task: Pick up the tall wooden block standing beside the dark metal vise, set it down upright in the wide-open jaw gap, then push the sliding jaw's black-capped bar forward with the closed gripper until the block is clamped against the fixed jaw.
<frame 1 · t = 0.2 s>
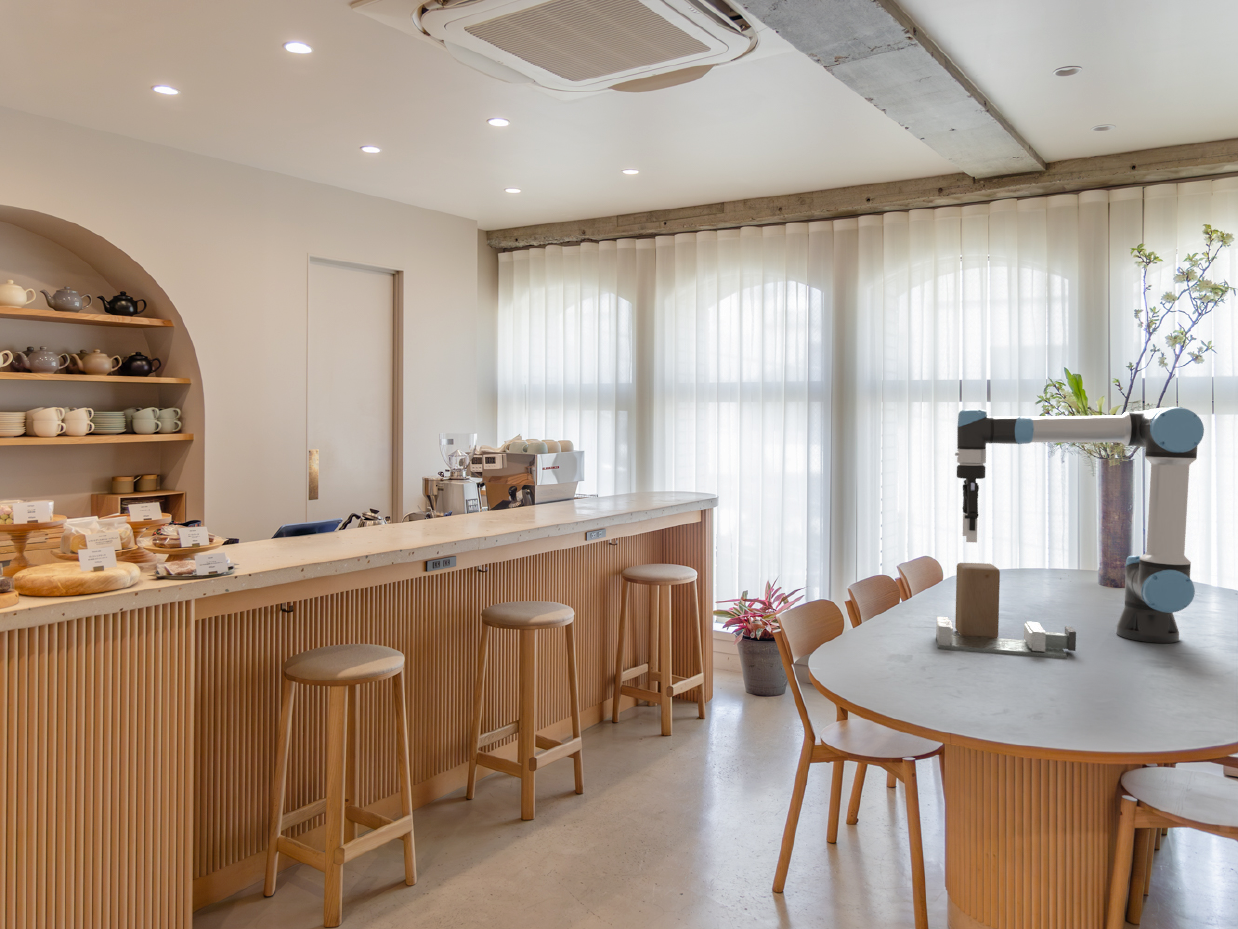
hand: (969, 539, 247), 27 cm above the table, fingers open, 13 cm apart
vise: (988, 646, 235), on the table
jaw: (1050, 637, 230), point 4 cm above the table, slide at 0.0 cm
wooden block: (976, 635, 248), on the table
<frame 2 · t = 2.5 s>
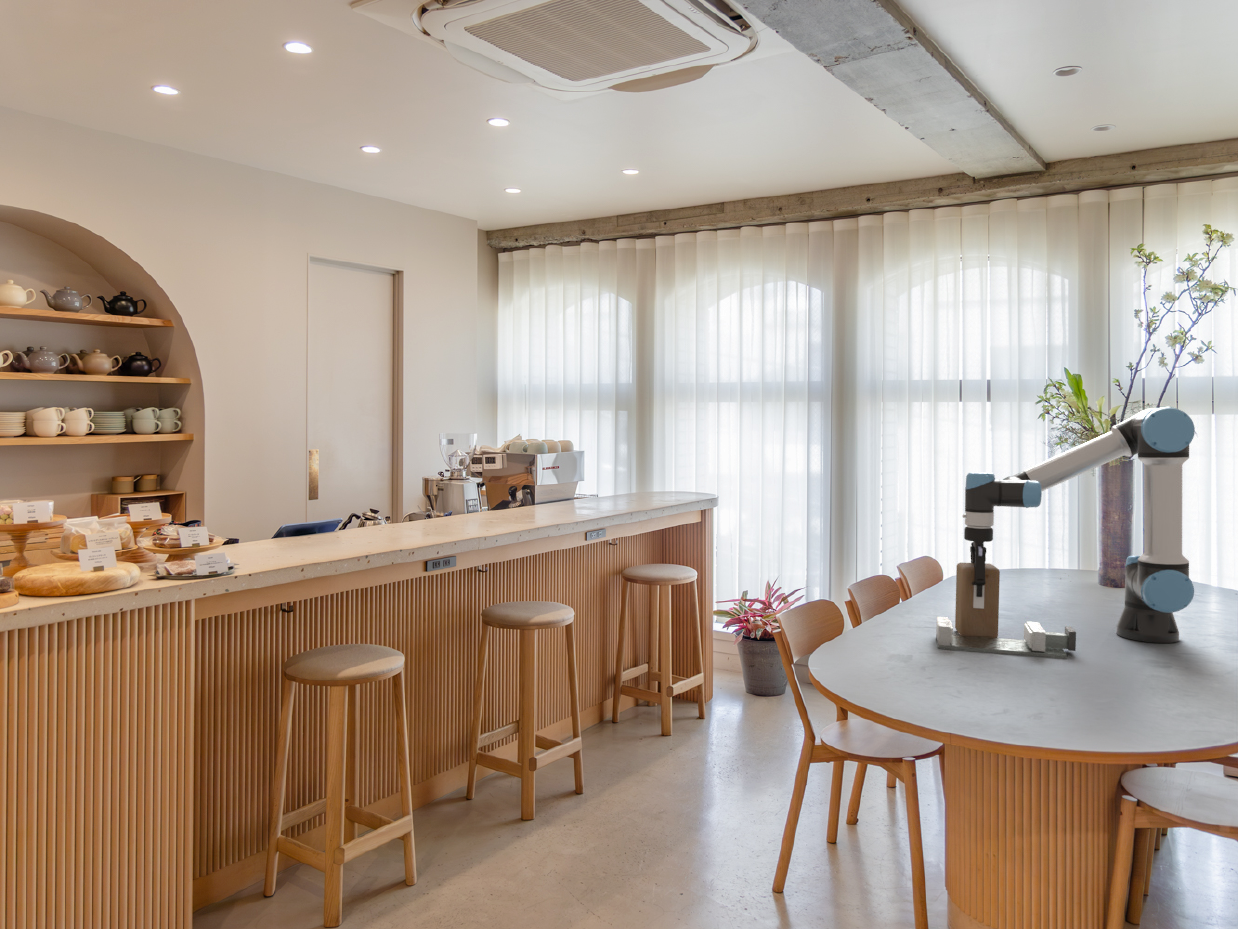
hand: (976, 604, 247), 9 cm above the table, fingers closed on wooden block, 10 cm apart
wooden block: (976, 635, 248), on the table, touching gripper
everything else where it was.
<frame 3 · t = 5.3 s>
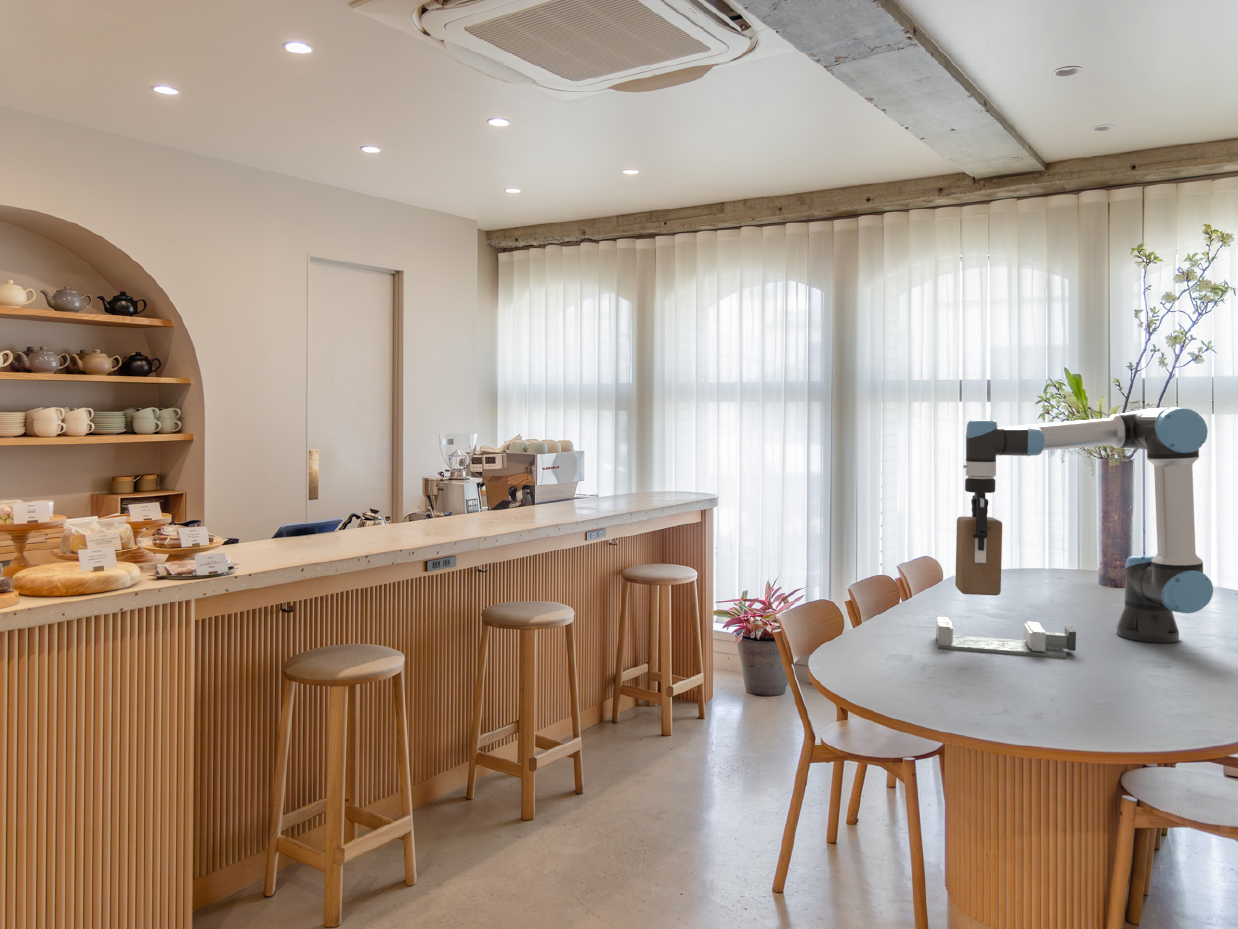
hand: (978, 559, 234), 24 cm above the table, fingers closed on wooden block, 10 cm apart
wooden block: (977, 592, 235), point 15 cm above the table, touching gripper
everything else where it was.
when the fingers open (11 cm above the table, at t = 8.1 s): wooden block drops 1 cm, resting on vise.
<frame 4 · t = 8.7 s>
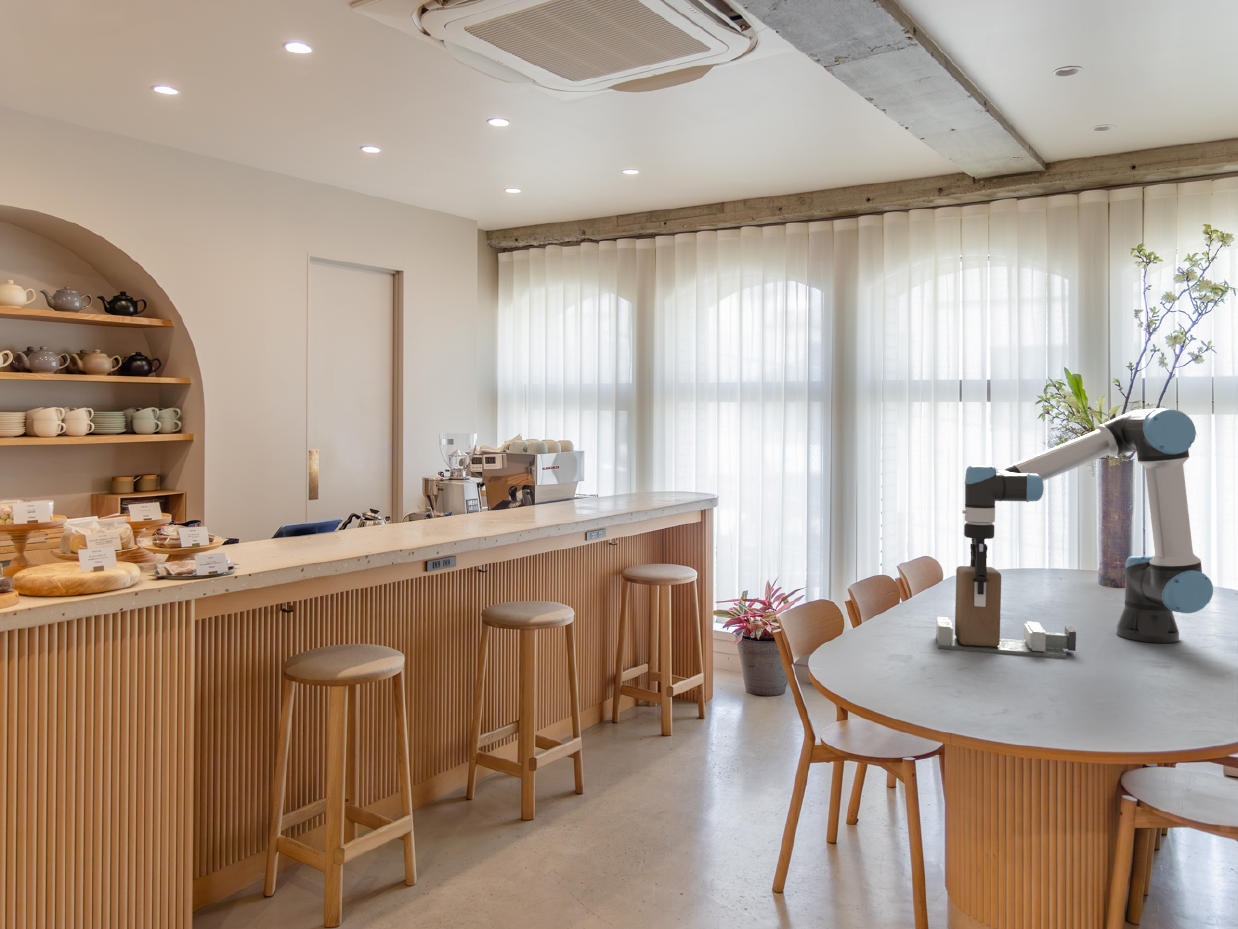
hand: (977, 601, 235), 12 cm above the table, fingers open, 13 cm apart
wooden block: (976, 642, 236), point 1 cm above the table, touching vise
everything else where it was.
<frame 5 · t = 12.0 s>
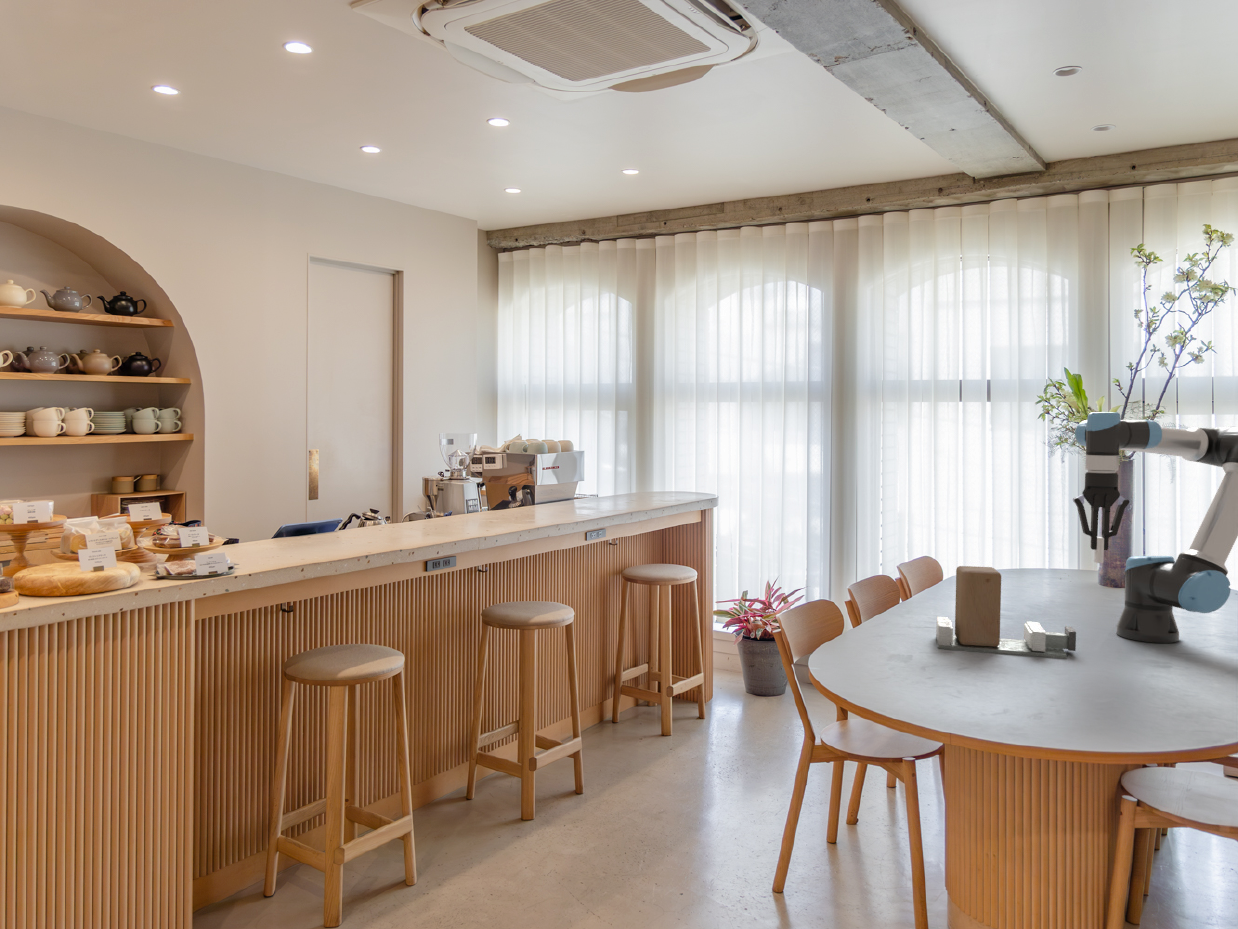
hand: (1098, 562, 226), 24 cm above the table, fingers closed
nothing on the table moved.
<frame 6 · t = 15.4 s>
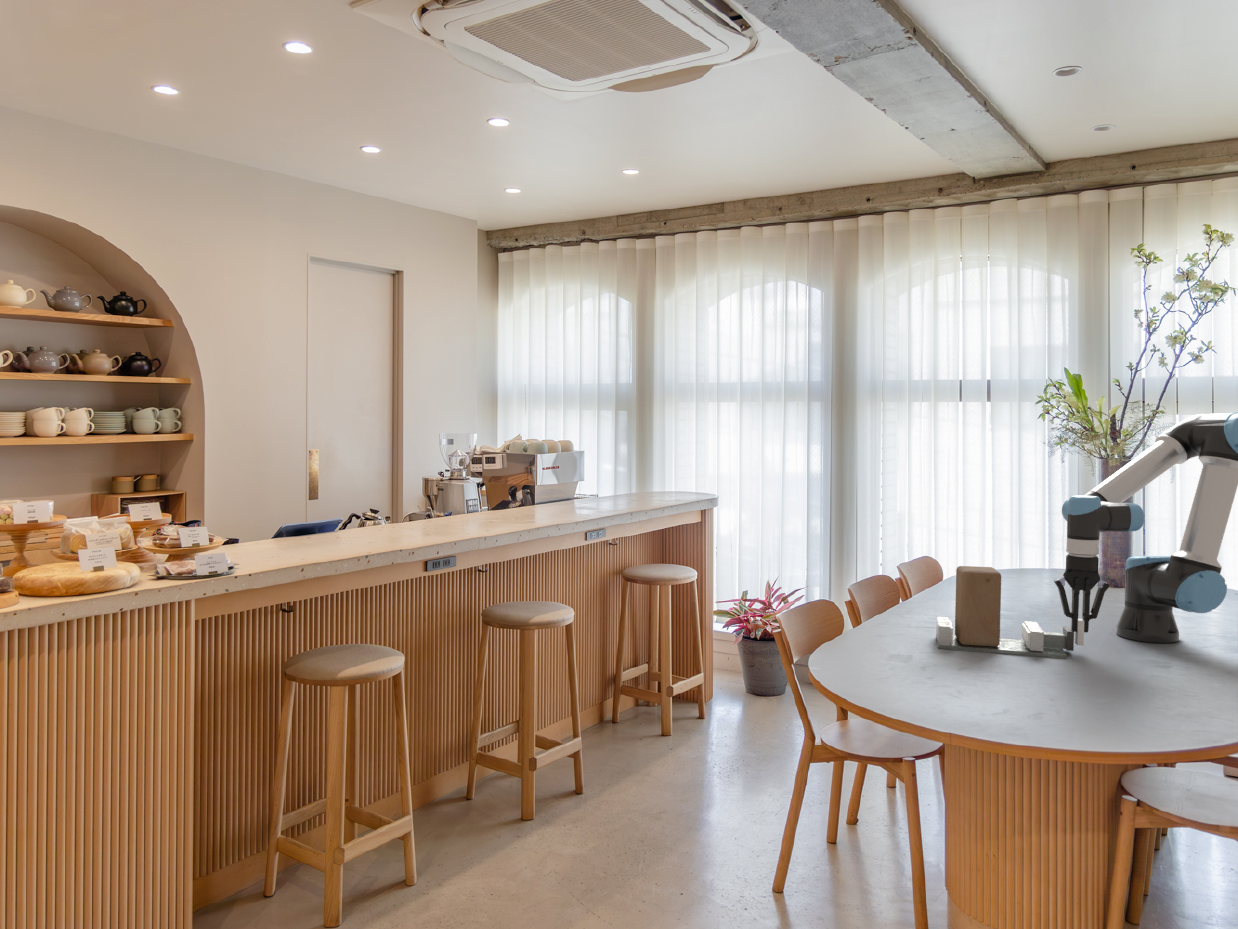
hand: (1079, 644, 228), 3 cm above the table, fingers closed
jaw: (1048, 637, 230), point 4 cm above the table, slide at 0.5 cm, touching gripper
everything else where it was.
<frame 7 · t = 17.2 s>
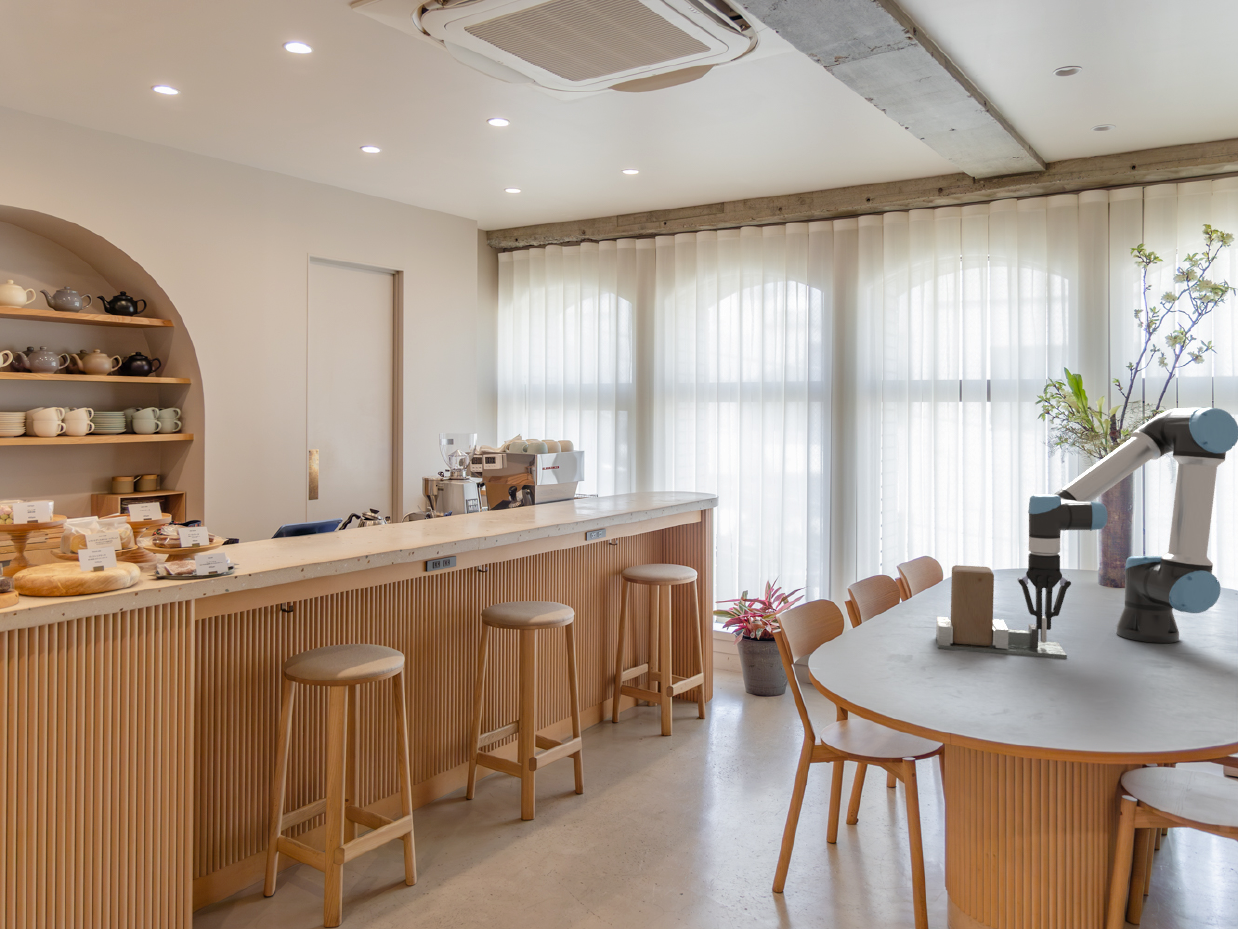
hand: (1043, 641, 230), 3 cm above the table, fingers closed
jaw: (1013, 634, 233), point 4 cm above the table, slide at 8.8 cm, touching gripper, wooden block
wooden block: (970, 642, 236), point 1 cm above the table, touching jaw, vise
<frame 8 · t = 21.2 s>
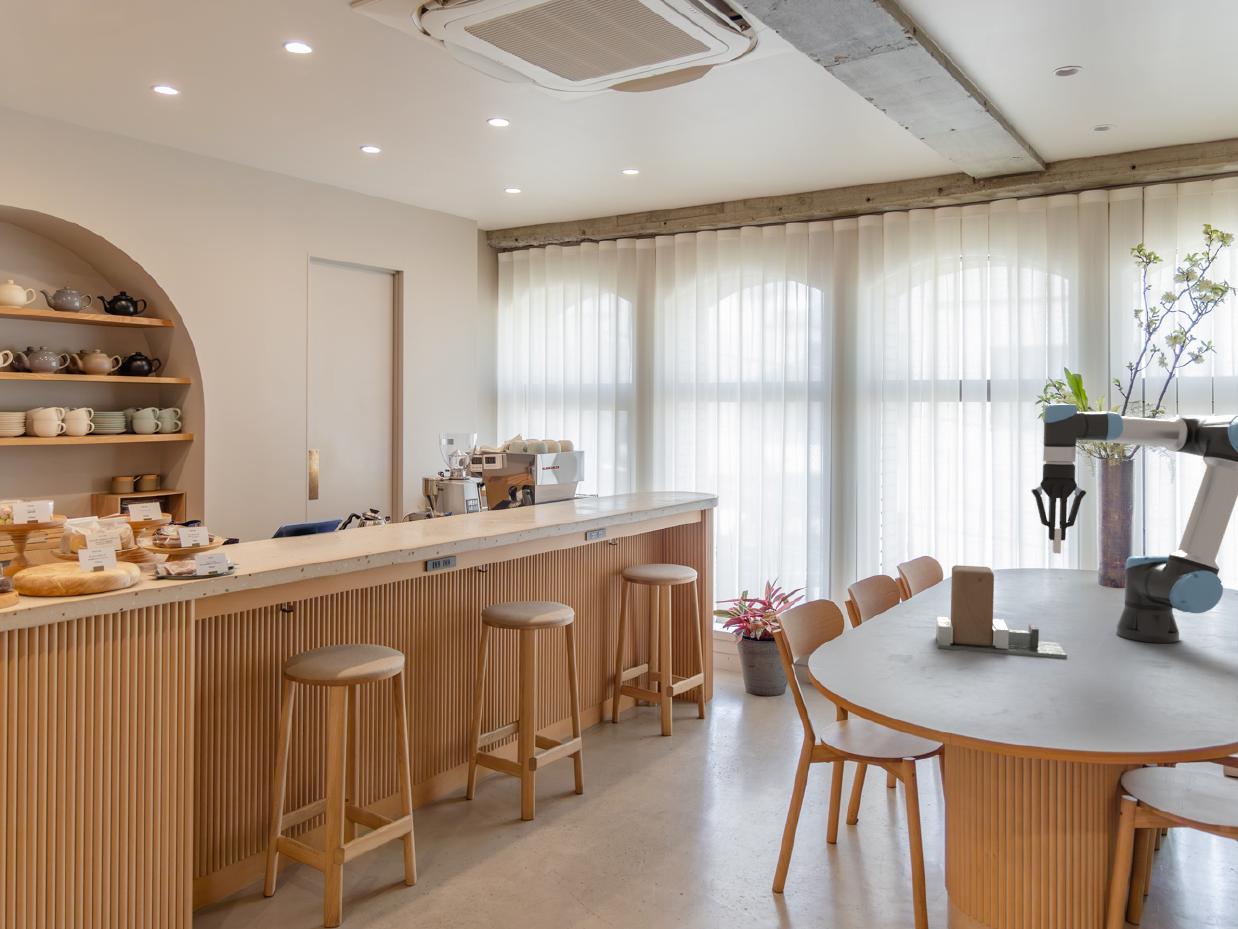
hand: (1056, 552, 228), 26 cm above the table, fingers closed
jaw: (1013, 634, 233), point 4 cm above the table, slide at 8.8 cm
wooden block: (970, 642, 236), point 1 cm above the table, touching vise
at the end: wooden block inside the target area on the vise (0.5 cm from its centre), point 0.8 cm above the vise's base; wooden block tilted 0°; jaw slide at 8.8 cm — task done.
